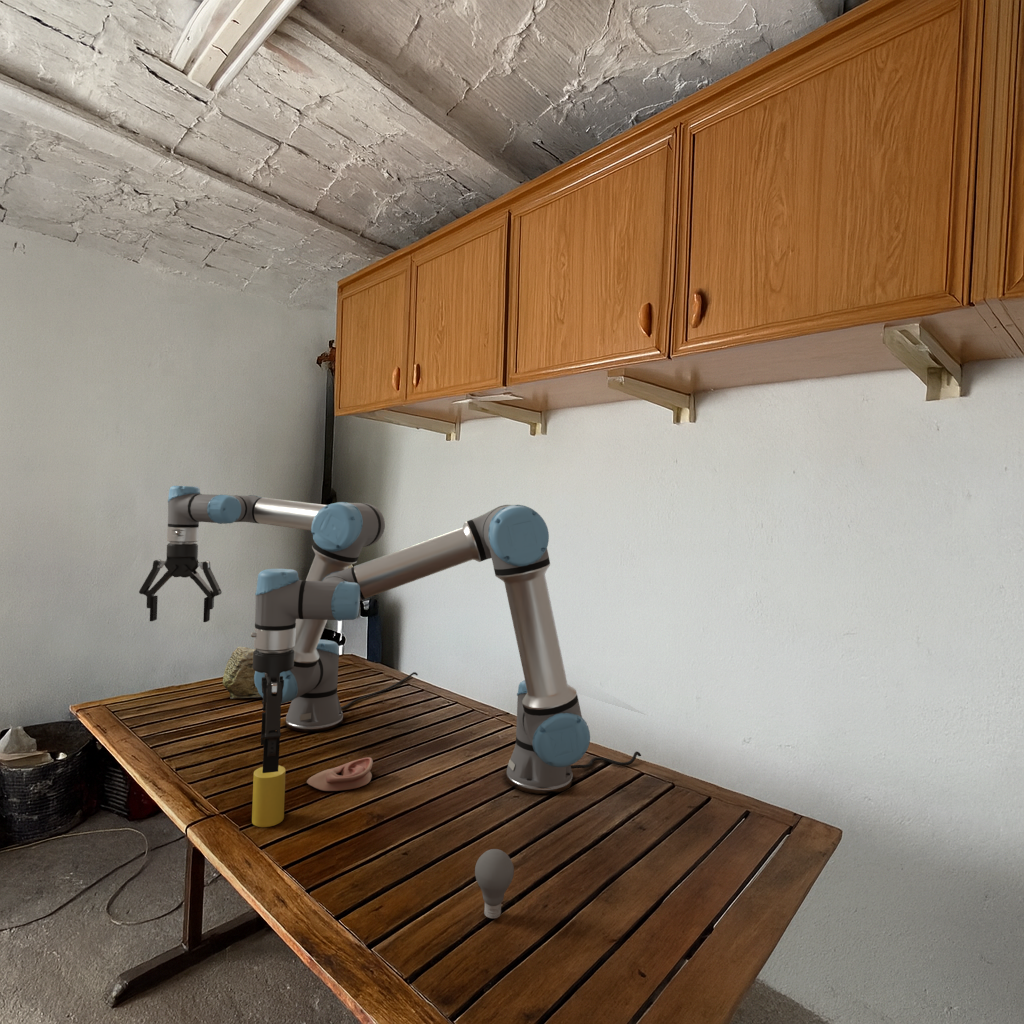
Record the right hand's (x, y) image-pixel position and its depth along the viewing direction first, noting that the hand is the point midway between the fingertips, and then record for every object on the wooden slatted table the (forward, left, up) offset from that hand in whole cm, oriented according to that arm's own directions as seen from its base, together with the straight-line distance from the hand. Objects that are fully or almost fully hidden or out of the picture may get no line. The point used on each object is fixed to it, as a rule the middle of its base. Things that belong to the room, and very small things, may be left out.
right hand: (269, 757), depth 123 cm
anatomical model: (-16, -13, -12) cm, 24 cm away
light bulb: (-31, +42, -12) cm, 53 cm away
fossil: (+1, -81, -12) cm, 82 cm away
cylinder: (0, 0, -12) cm, 12 cm away
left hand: (+21, -62, +15) cm, 67 cm away
